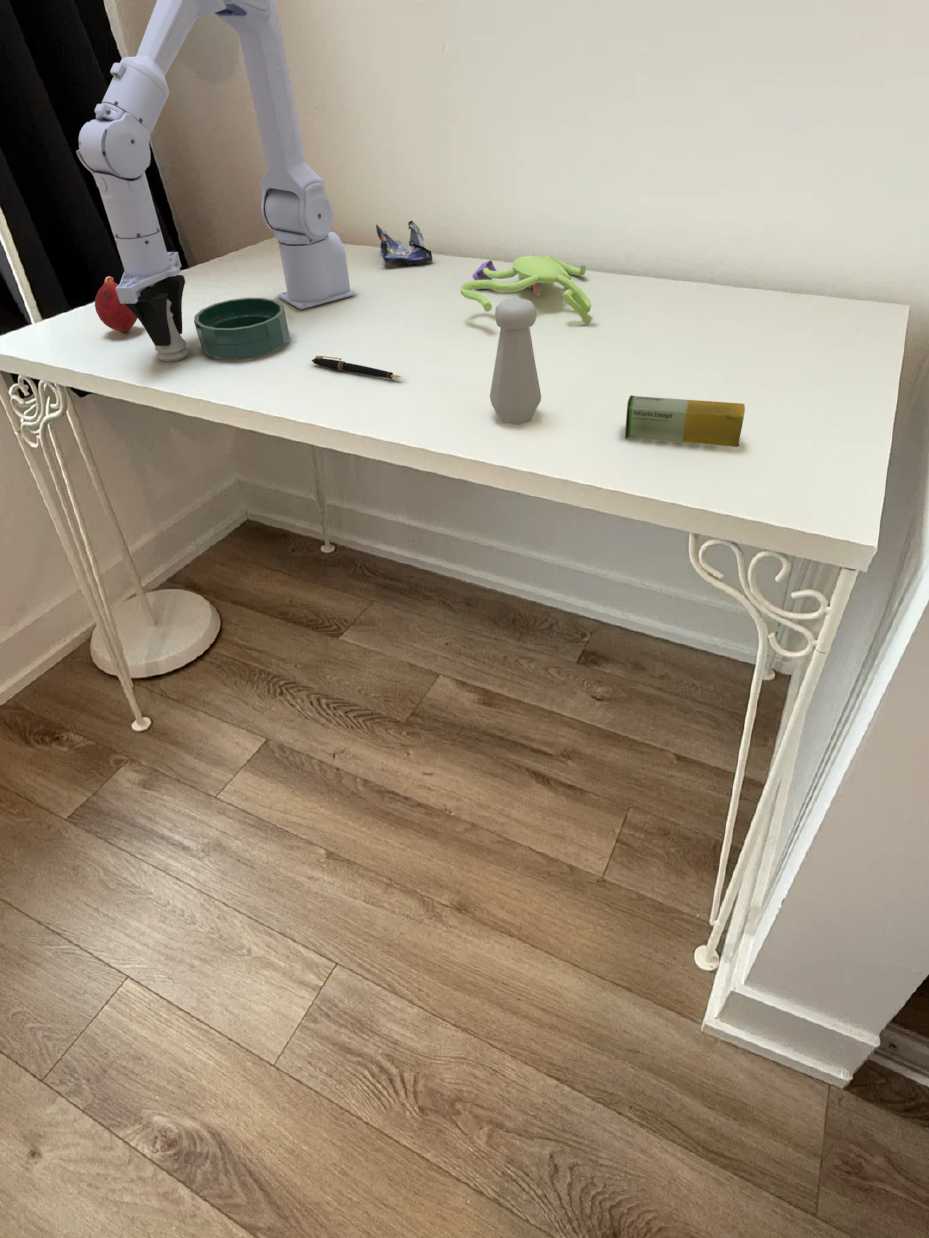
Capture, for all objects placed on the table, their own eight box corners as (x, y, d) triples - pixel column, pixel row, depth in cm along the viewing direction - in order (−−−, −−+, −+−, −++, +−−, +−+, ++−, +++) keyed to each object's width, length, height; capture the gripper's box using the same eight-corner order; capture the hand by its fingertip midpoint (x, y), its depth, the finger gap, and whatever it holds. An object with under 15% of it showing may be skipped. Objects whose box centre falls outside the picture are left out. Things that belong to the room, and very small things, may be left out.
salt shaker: (488, 407, 92) (485, 294, 84) (536, 403, 93) (538, 290, 84) (493, 430, 88) (491, 313, 80) (544, 426, 88) (547, 309, 80)
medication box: (623, 439, 85) (625, 407, 82) (626, 426, 87) (628, 393, 84) (738, 448, 82) (744, 415, 79) (740, 434, 84) (746, 401, 81)
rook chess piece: (196, 355, 109) (180, 296, 103) (168, 365, 106) (150, 305, 101) (179, 347, 111) (163, 289, 106) (151, 357, 109) (133, 298, 103)
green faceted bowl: (268, 322, 117) (261, 291, 114) (305, 346, 109) (299, 313, 106) (190, 344, 112) (181, 312, 109) (223, 370, 104) (214, 337, 101)
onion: (132, 341, 114) (114, 284, 108) (97, 340, 115) (77, 283, 109) (152, 326, 118) (135, 271, 113) (118, 325, 119) (99, 270, 114)
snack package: (446, 249, 141) (385, 245, 144) (443, 212, 136) (380, 209, 139) (427, 282, 134) (363, 278, 136) (423, 245, 129) (357, 241, 131)
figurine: (458, 335, 110) (456, 294, 106) (472, 273, 130) (471, 237, 126) (591, 333, 108) (594, 292, 104) (584, 271, 128) (586, 234, 124)
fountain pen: (405, 380, 99) (404, 369, 98) (401, 384, 98) (399, 373, 97) (314, 363, 105) (312, 352, 104) (309, 366, 104) (307, 355, 103)
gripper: (141, 249, 92) (174, 361, 101) (189, 216, 103) (215, 320, 112) (86, 250, 93) (123, 360, 102) (139, 217, 104) (169, 319, 113)
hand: (168, 339), depth 107 cm, fingers closed on rook chess piece, 3 cm apart
